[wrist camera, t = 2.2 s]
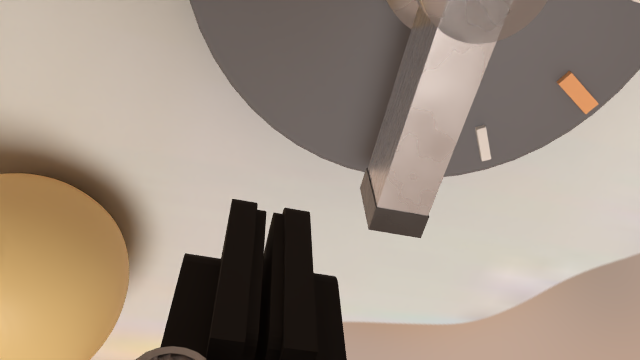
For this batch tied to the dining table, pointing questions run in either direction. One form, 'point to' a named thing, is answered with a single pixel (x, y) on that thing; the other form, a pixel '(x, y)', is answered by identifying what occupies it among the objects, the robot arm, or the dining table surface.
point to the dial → (432, 102)
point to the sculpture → (57, 270)
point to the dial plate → (384, 61)
